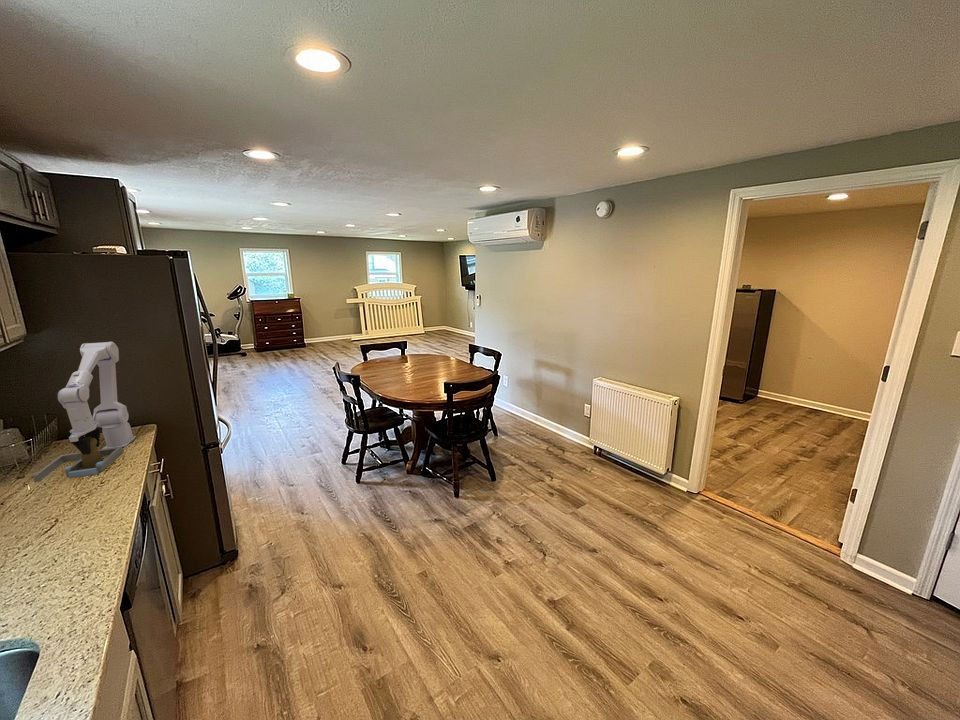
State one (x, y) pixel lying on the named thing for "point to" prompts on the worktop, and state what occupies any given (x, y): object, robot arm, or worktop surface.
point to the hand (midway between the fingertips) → (91, 450)
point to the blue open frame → (79, 464)
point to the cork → (91, 456)
